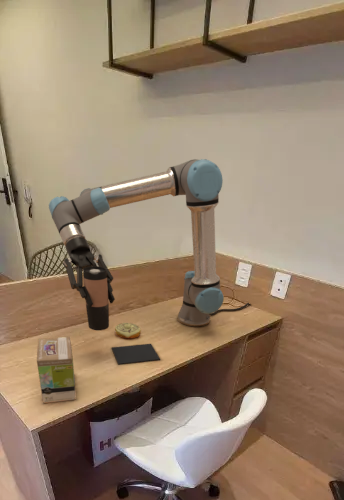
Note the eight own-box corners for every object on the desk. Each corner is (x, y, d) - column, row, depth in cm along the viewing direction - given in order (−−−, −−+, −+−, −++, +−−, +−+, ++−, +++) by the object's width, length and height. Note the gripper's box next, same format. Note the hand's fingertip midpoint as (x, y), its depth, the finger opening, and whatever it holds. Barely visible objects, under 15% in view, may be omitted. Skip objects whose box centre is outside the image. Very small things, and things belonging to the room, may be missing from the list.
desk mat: (150, 344, 138) (150, 343, 138) (160, 360, 128) (160, 358, 128) (111, 348, 133) (111, 347, 133) (118, 365, 123) (118, 363, 123)
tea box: (77, 400, 104) (72, 357, 96) (42, 404, 101) (34, 361, 93) (74, 374, 116) (70, 335, 108) (43, 377, 113) (36, 337, 105)
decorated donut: (129, 342, 139) (129, 333, 137) (110, 334, 144) (109, 326, 142) (145, 334, 146) (145, 326, 144) (126, 327, 151) (126, 319, 149)
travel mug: (98, 320, 125) (95, 264, 114) (114, 326, 121) (111, 269, 110) (83, 326, 120) (77, 269, 109) (98, 332, 116) (94, 274, 105)
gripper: (99, 246, 123) (123, 303, 122) (44, 252, 112) (70, 314, 111) (105, 233, 117) (131, 293, 115) (48, 238, 106) (76, 304, 104)
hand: (102, 303), depth 113 cm, fingers closed on travel mug, 7 cm apart
